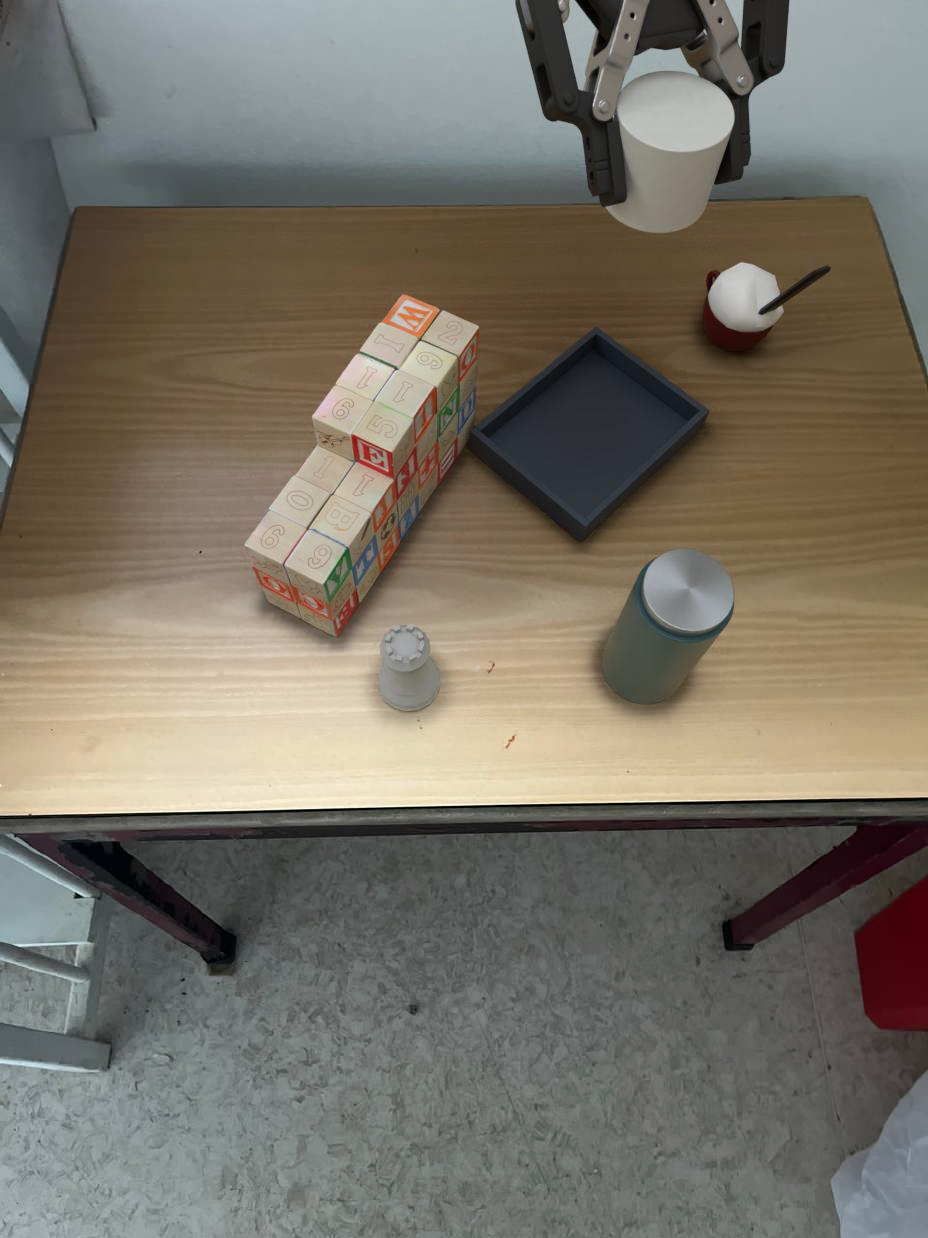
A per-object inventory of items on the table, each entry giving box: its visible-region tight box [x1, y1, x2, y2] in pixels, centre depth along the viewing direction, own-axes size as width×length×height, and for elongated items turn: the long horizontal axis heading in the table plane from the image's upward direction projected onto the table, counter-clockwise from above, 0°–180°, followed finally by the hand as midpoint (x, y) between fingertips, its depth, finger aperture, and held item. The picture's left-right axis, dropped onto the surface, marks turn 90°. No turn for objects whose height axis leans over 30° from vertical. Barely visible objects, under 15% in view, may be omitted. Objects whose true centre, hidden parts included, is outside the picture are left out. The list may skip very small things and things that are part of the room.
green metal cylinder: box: [600, 548, 735, 705], centre depth 56 cm, size 6×6×13 cm
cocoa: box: [701, 261, 832, 352], centre depth 69 cm, size 10×6×12 cm, turn 5°
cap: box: [605, 70, 735, 234], centre depth 45 cm, size 6×6×5 cm
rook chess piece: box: [377, 623, 441, 712], centre depth 57 cm, size 4×4×8 cm
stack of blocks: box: [243, 293, 480, 638], centre depth 61 cm, size 21×6×12 cm, turn 152°
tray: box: [468, 325, 711, 543], centre depth 69 cm, size 15×12×2 cm
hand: (671, 191), depth 45 cm, fingers closed on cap, 6 cm apart
